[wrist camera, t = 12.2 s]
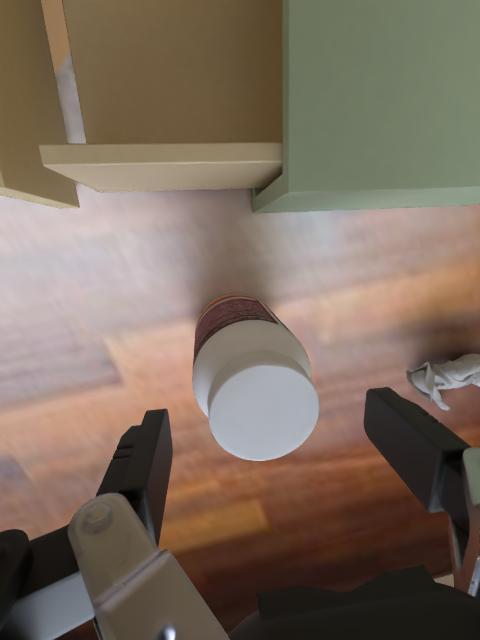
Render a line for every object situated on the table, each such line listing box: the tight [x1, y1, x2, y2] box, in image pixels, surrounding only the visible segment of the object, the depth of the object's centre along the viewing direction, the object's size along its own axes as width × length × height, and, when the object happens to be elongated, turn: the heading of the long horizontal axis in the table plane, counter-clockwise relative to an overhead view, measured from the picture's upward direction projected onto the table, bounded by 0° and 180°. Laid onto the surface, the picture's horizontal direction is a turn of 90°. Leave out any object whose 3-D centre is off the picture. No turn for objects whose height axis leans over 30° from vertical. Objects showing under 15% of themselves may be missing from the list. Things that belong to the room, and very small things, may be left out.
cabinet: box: [252, 0, 480, 213], centre depth 14 cm, size 17×15×9 cm
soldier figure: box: [406, 354, 480, 410], centre depth 24 cm, size 8×5×12 cm
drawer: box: [0, 0, 283, 208], centre depth 13 cm, size 21×14×7 cm, turn 92°
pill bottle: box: [192, 294, 319, 461], centre depth 17 cm, size 6×6×11 cm
